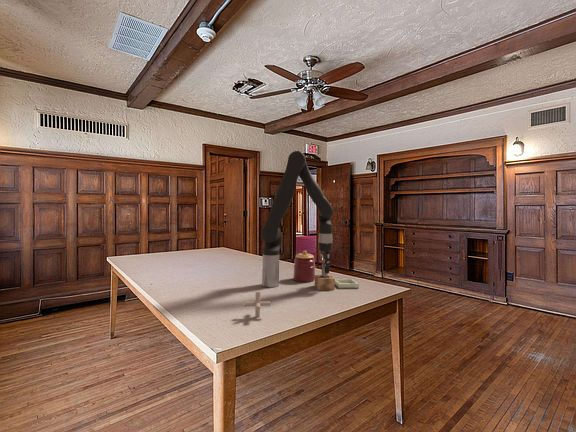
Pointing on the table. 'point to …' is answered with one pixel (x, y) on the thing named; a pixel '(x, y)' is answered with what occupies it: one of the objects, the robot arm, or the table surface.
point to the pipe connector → (257, 304)
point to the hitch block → (324, 282)
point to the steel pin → (324, 275)
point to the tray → (346, 283)
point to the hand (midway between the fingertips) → (325, 271)
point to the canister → (304, 267)
